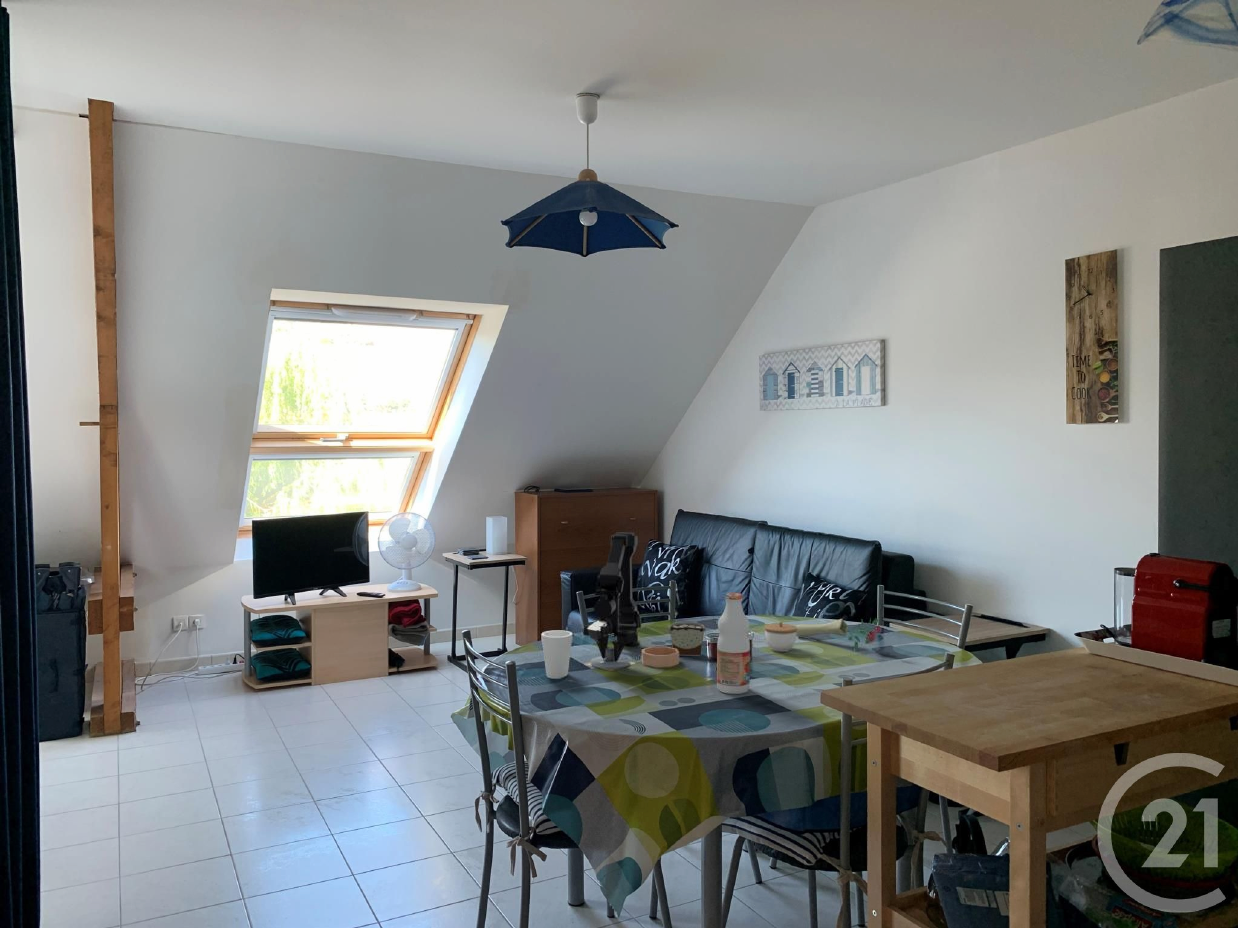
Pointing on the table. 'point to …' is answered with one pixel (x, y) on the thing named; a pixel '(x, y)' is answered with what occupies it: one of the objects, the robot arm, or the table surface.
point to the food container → (687, 638)
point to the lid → (609, 661)
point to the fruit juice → (733, 648)
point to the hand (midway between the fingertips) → (609, 659)
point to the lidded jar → (780, 636)
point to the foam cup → (556, 652)
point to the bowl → (660, 656)
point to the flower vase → (837, 630)
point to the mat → (610, 669)
